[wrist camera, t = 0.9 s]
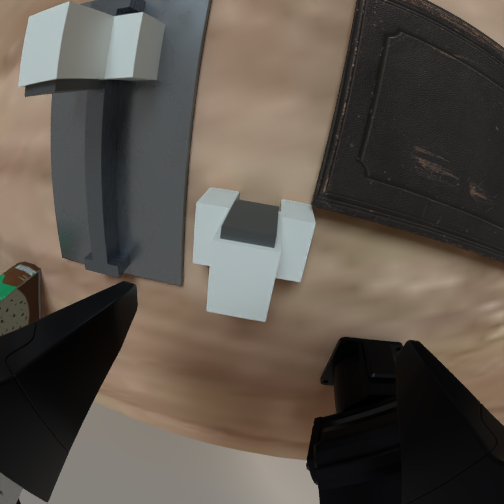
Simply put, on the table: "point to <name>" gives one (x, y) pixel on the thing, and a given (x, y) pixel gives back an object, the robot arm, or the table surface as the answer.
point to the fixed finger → (87, 49)
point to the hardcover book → (419, 127)
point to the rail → (130, 154)
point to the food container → (19, 297)
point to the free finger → (249, 249)
